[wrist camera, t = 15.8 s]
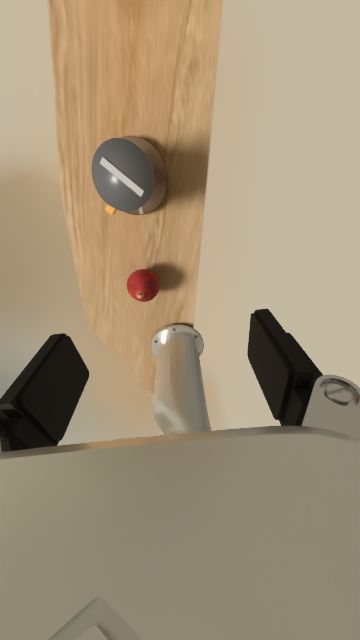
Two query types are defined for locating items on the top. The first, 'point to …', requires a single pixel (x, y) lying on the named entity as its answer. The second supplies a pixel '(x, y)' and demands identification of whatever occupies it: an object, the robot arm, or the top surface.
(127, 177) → the grey striped cylinder
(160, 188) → the post base
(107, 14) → the top surface
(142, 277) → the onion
